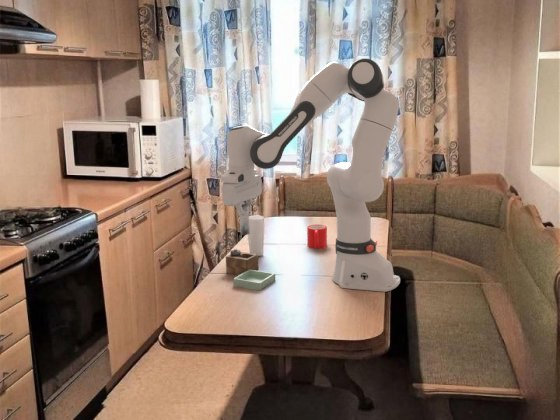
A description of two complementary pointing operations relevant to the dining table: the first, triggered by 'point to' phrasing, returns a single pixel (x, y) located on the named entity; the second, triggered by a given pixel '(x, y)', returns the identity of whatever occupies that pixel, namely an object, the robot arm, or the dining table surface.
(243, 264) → the tensioner block
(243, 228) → the pin
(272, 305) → the dining table surface
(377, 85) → the robot arm
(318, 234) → the mug
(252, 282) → the tray
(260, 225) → the white tall cup
